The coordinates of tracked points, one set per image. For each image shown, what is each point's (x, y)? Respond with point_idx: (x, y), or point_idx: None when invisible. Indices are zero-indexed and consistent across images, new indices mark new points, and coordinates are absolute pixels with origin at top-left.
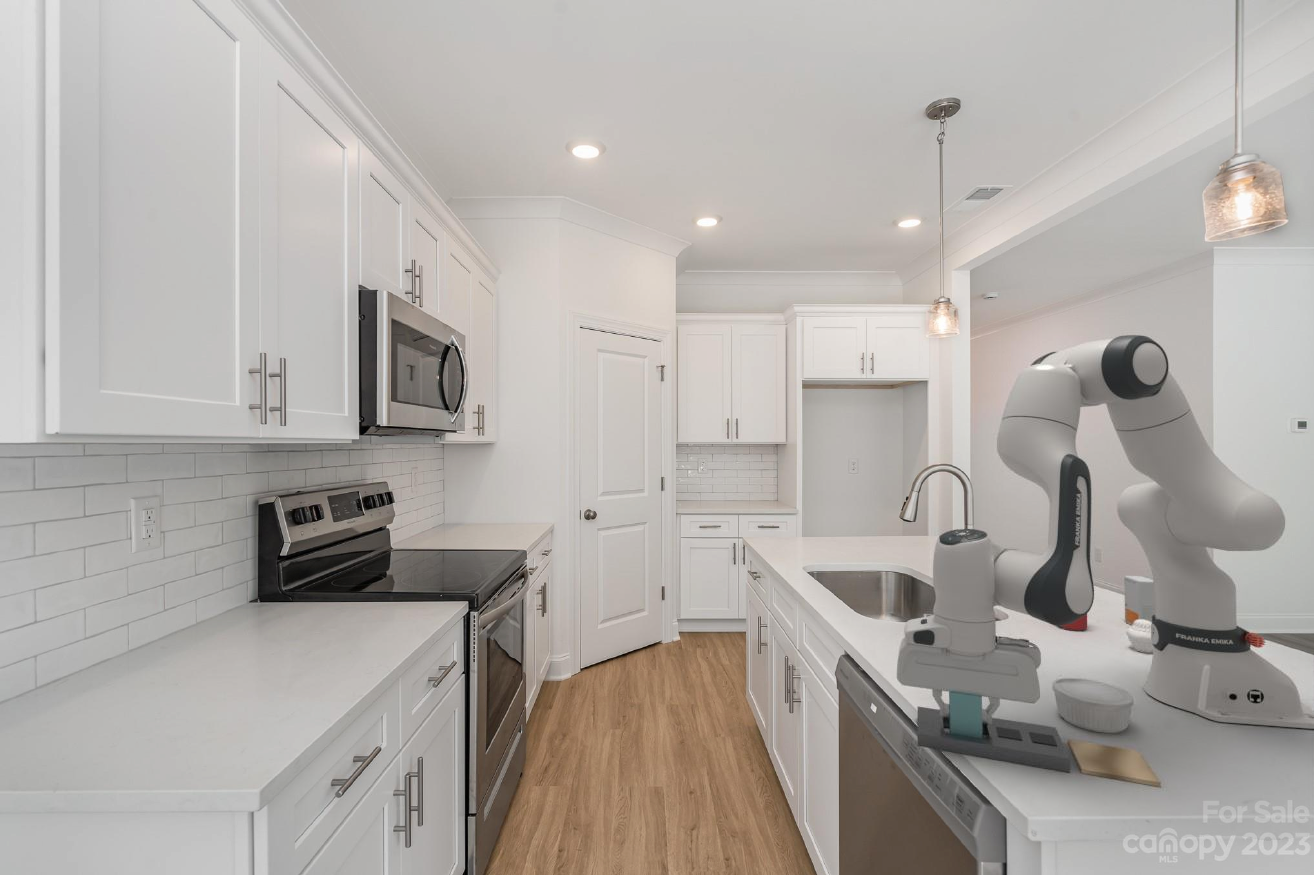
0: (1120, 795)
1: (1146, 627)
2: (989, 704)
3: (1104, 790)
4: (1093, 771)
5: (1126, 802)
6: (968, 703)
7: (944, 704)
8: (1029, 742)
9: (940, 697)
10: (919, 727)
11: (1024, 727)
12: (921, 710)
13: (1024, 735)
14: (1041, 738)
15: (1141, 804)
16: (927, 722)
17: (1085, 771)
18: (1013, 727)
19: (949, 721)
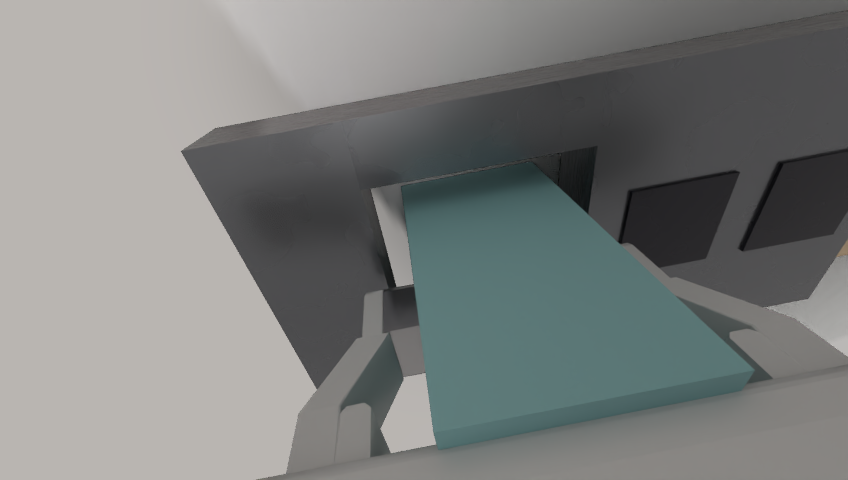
0: (823, 306)
1: None
2: (692, 309)
3: (797, 304)
4: (842, 254)
5: (813, 325)
6: None
7: (395, 345)
8: (725, 260)
9: (368, 381)
10: (309, 360)
11: (793, 107)
12: (234, 199)
13: (738, 205)
14: (804, 204)
15: (844, 317)
16: (320, 308)
17: None
18: (726, 144)
19: (404, 209)
